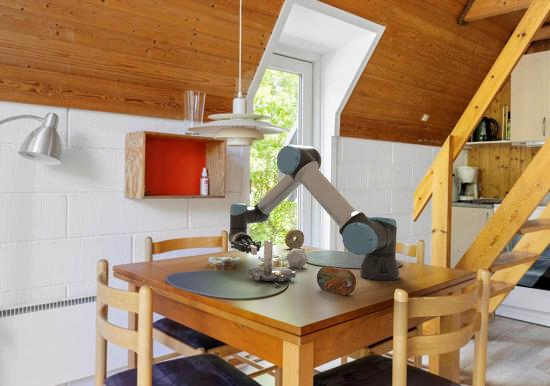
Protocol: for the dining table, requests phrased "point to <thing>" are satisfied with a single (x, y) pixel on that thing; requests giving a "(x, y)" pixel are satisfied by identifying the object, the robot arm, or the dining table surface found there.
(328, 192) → the robot arm
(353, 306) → the dining table surface
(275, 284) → the timing pointer
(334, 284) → the tin
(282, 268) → the sprocket
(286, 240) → the stone disc
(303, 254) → the die
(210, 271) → the dining table surface
